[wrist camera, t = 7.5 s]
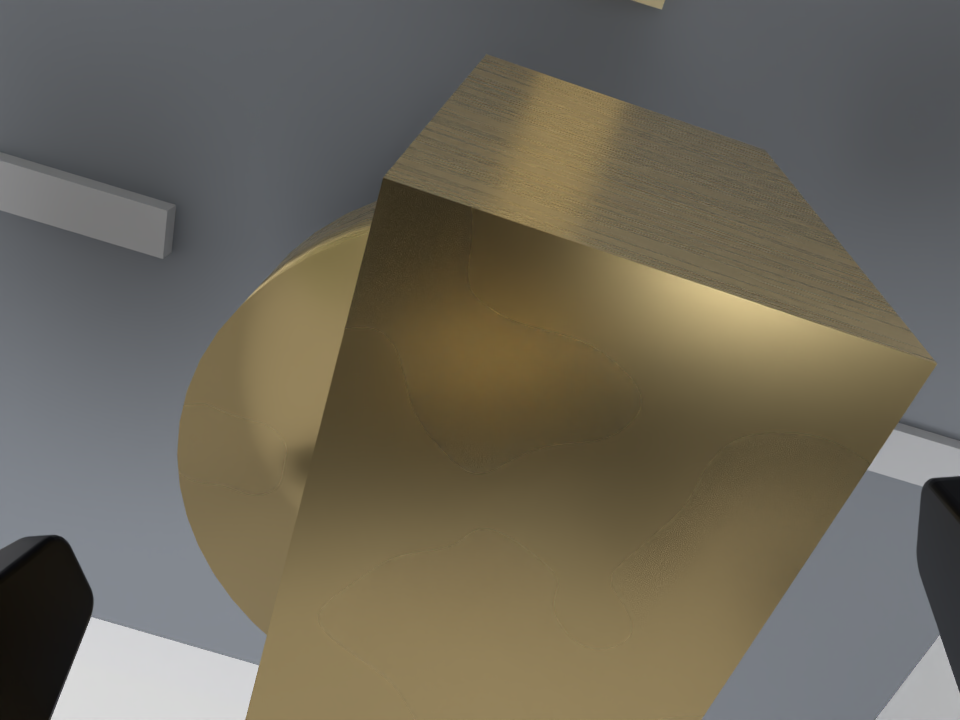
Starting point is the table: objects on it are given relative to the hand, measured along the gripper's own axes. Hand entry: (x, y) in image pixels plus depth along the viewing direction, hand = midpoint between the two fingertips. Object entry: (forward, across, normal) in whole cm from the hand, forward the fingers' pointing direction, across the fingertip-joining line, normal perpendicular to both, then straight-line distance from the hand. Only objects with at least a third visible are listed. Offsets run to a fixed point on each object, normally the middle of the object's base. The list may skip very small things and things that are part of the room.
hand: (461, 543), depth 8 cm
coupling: (+2, 0, 0) cm, 2 cm away
